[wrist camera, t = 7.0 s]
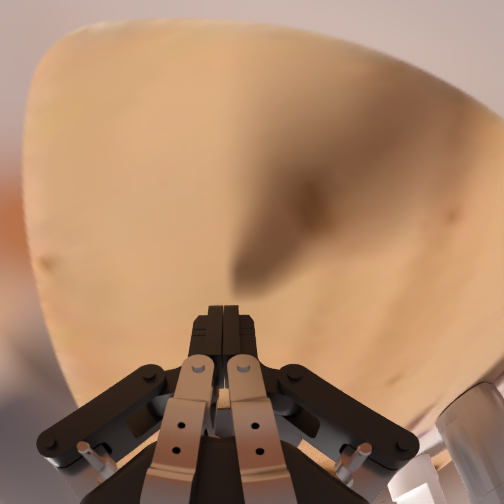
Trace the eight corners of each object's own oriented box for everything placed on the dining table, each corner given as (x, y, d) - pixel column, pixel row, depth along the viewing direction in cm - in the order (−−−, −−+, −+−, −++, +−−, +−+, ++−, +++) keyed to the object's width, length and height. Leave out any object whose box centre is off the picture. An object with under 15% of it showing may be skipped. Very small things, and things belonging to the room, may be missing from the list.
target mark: (312, 403, 21) (312, 405, 20) (293, 461, 26) (293, 463, 26) (151, 405, 20) (151, 407, 20) (179, 463, 25) (179, 465, 25)
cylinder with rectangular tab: (405, 459, 32) (425, 514, 21) (437, 449, 33) (458, 497, 23) (375, 480, 35) (390, 530, 25) (408, 471, 37) (424, 516, 26)
